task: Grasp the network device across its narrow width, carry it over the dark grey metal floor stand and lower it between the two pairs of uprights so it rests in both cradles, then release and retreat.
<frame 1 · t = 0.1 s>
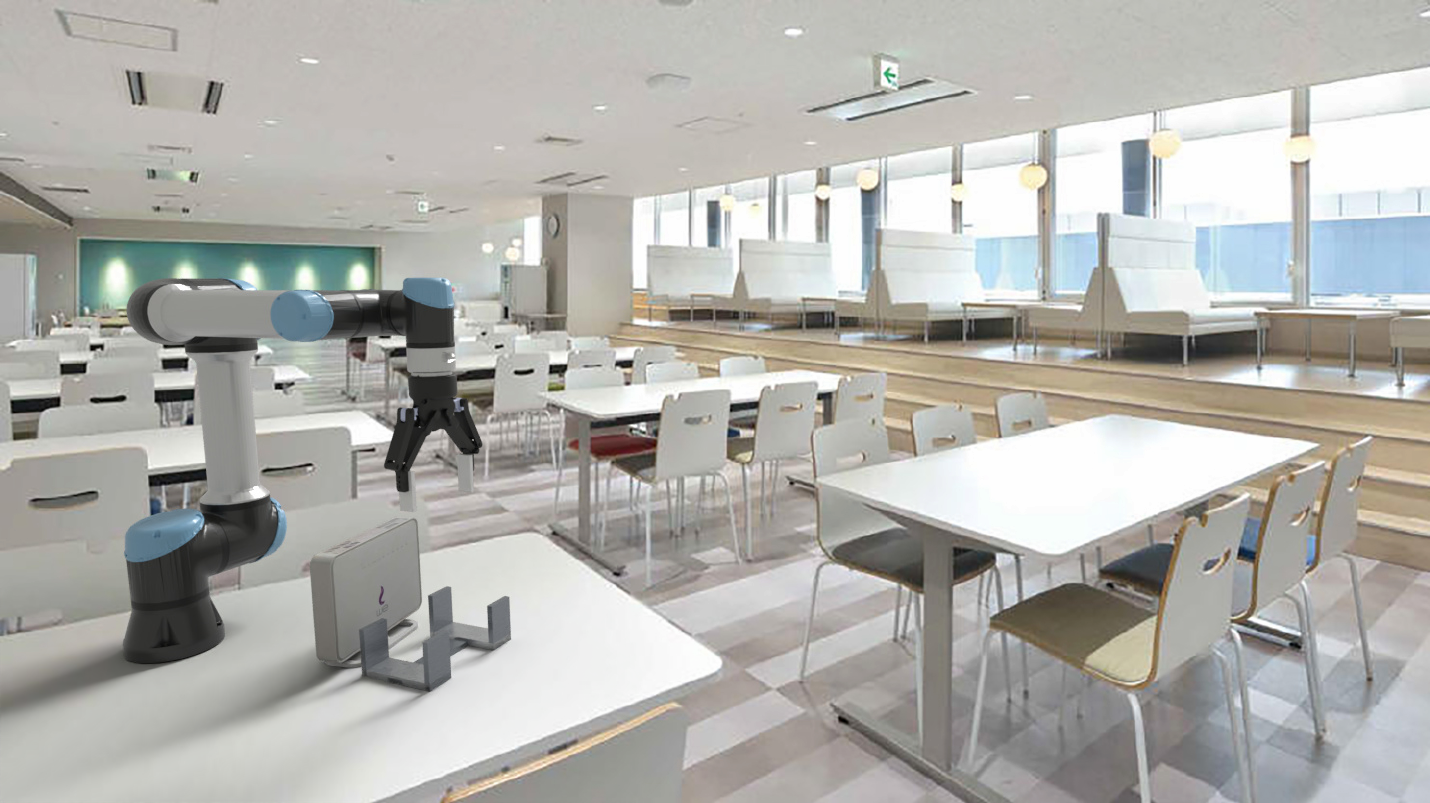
hand: (438, 500, 136), 28 cm above the table, fingers open, 13 cm apart
stand: (440, 656, 142), on the table
network device: (373, 643, 147), on the table
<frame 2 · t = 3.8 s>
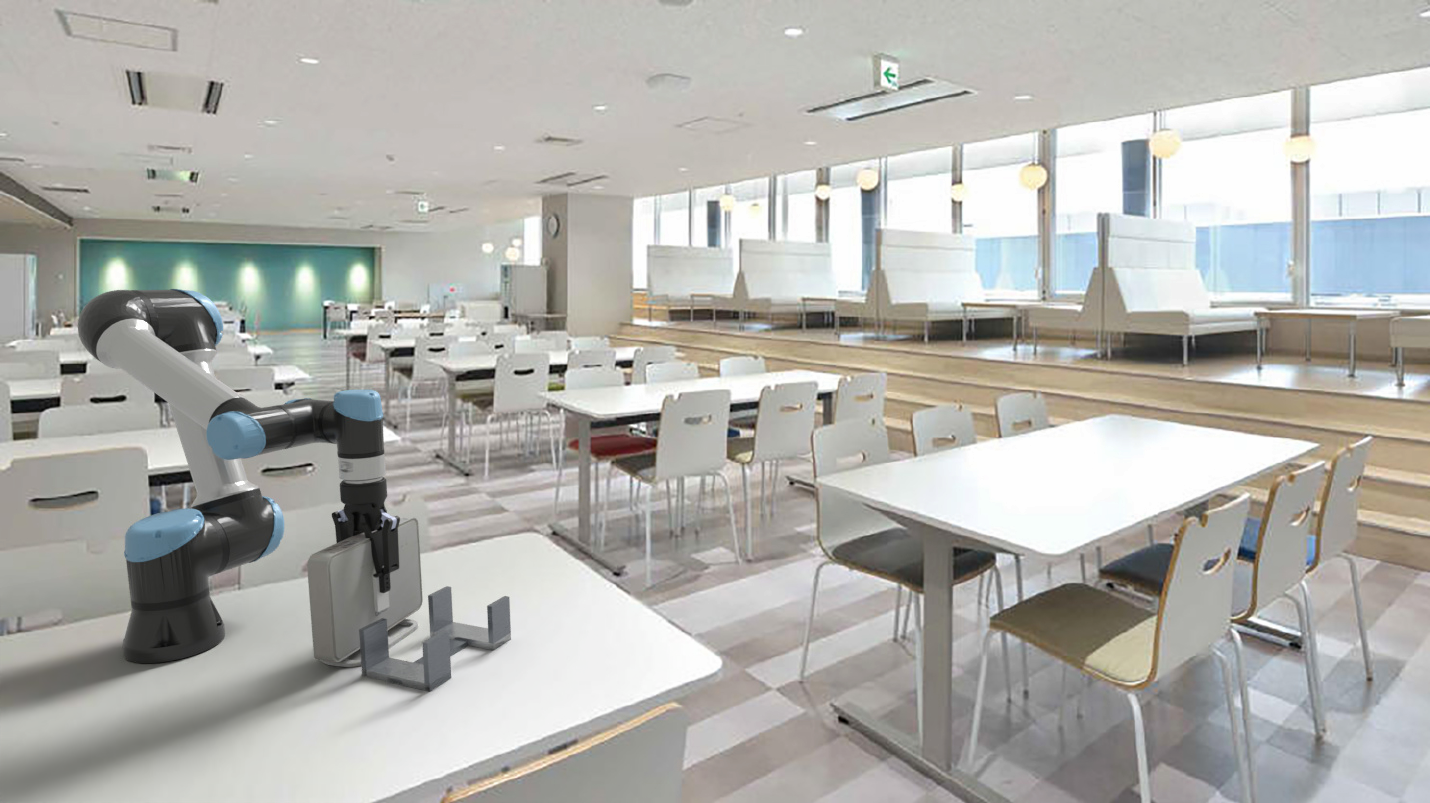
hand: (371, 606, 146), 7 cm above the table, fingers closed on network device, 4 cm apart
network device: (372, 643, 147), on the table, touching gripper
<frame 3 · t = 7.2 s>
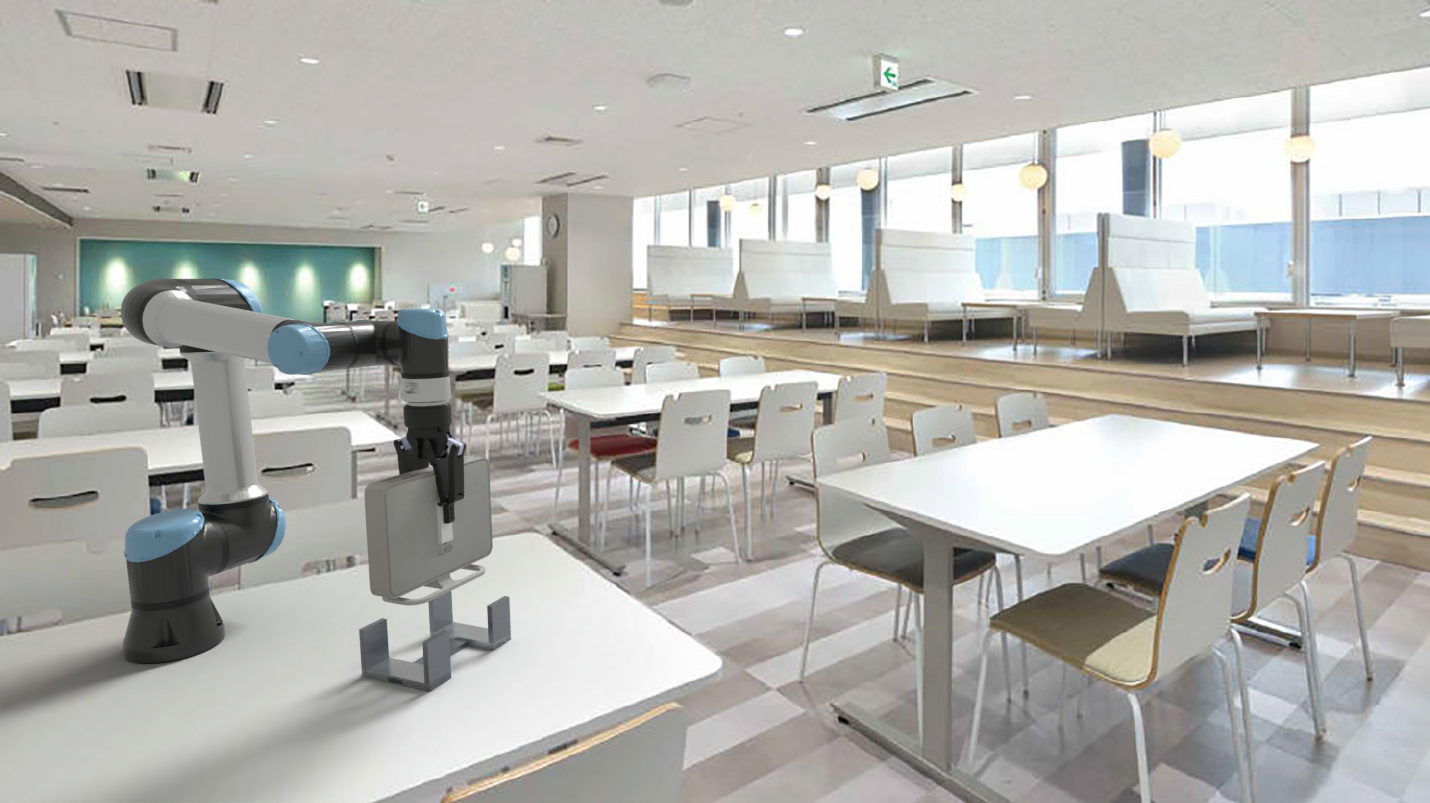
hand: (435, 539, 139), 21 cm above the table, fingers closed on network device, 4 cm apart
network device: (436, 585, 140), point 13 cm above the table, touching gripper
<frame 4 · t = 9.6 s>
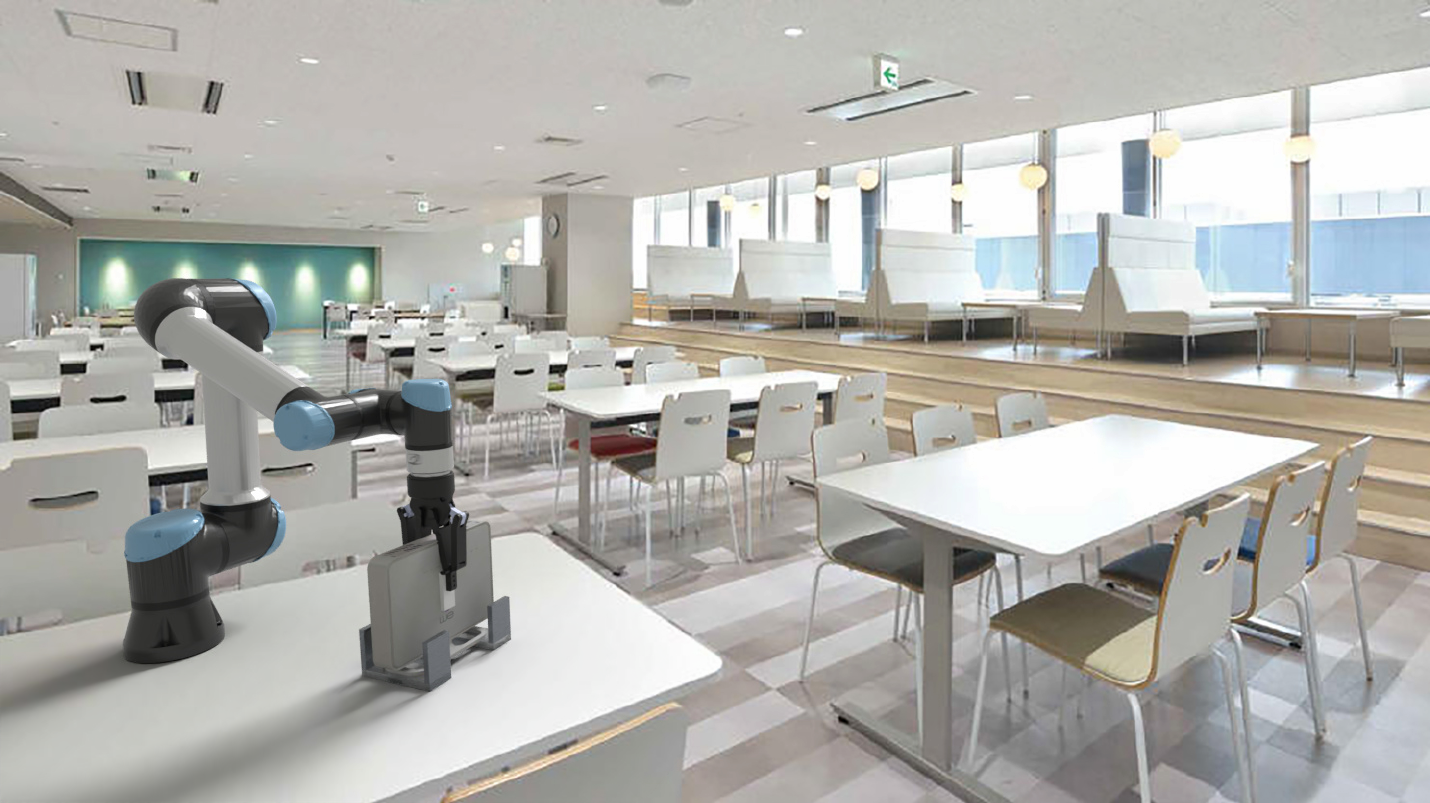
hand: (437, 605, 140), 9 cm above the table, fingers closed on network device, 4 cm apart
network device: (438, 651, 141), point 1 cm above the table, touching gripper, stand
when the fingers open (9 cm above the table, at t = 9.8 s): network device stays where it is, resting on stand.
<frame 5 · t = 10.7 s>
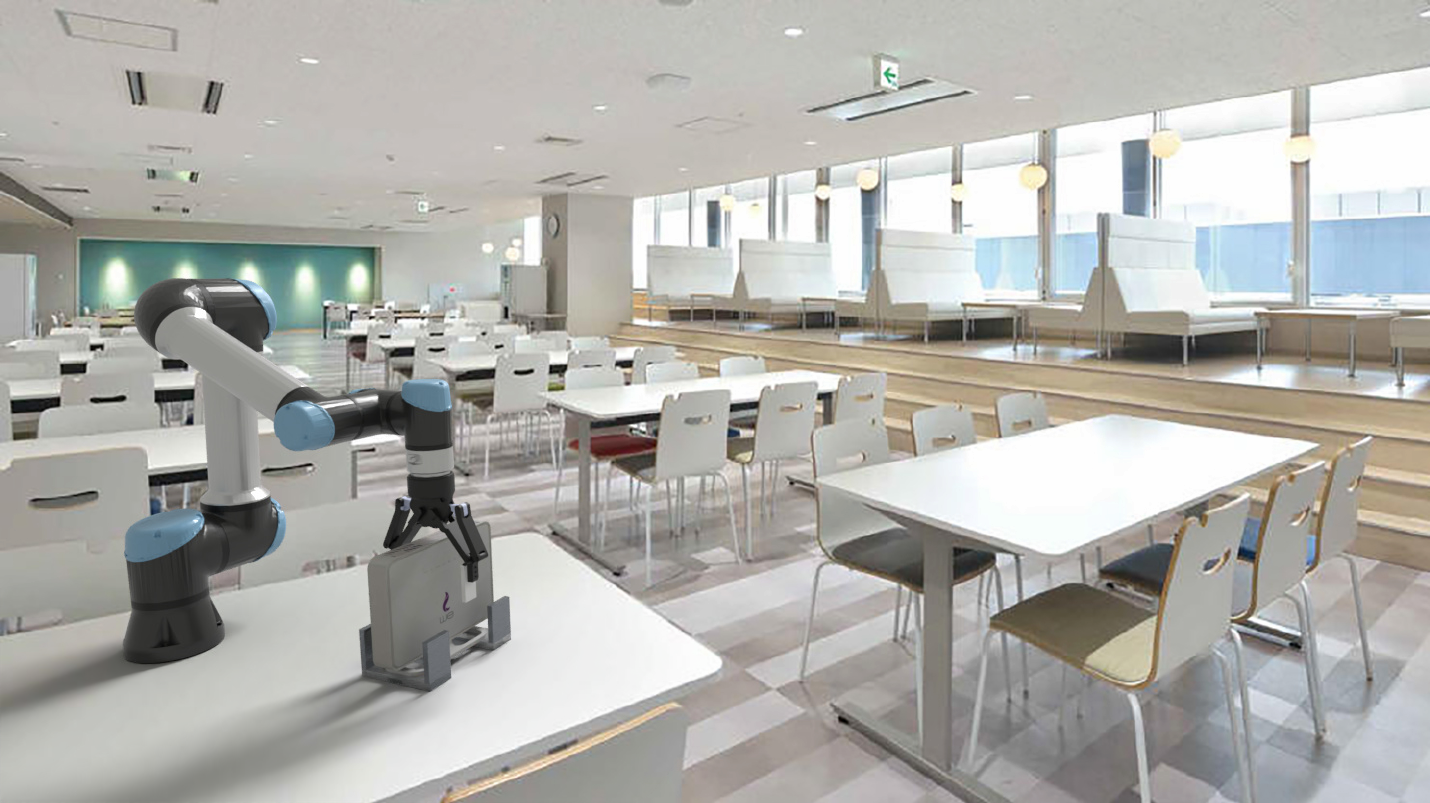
hand: (437, 594, 140), 11 cm above the table, fingers open, 13 cm apart
network device: (438, 651, 141), point 1 cm above the table, touching stand
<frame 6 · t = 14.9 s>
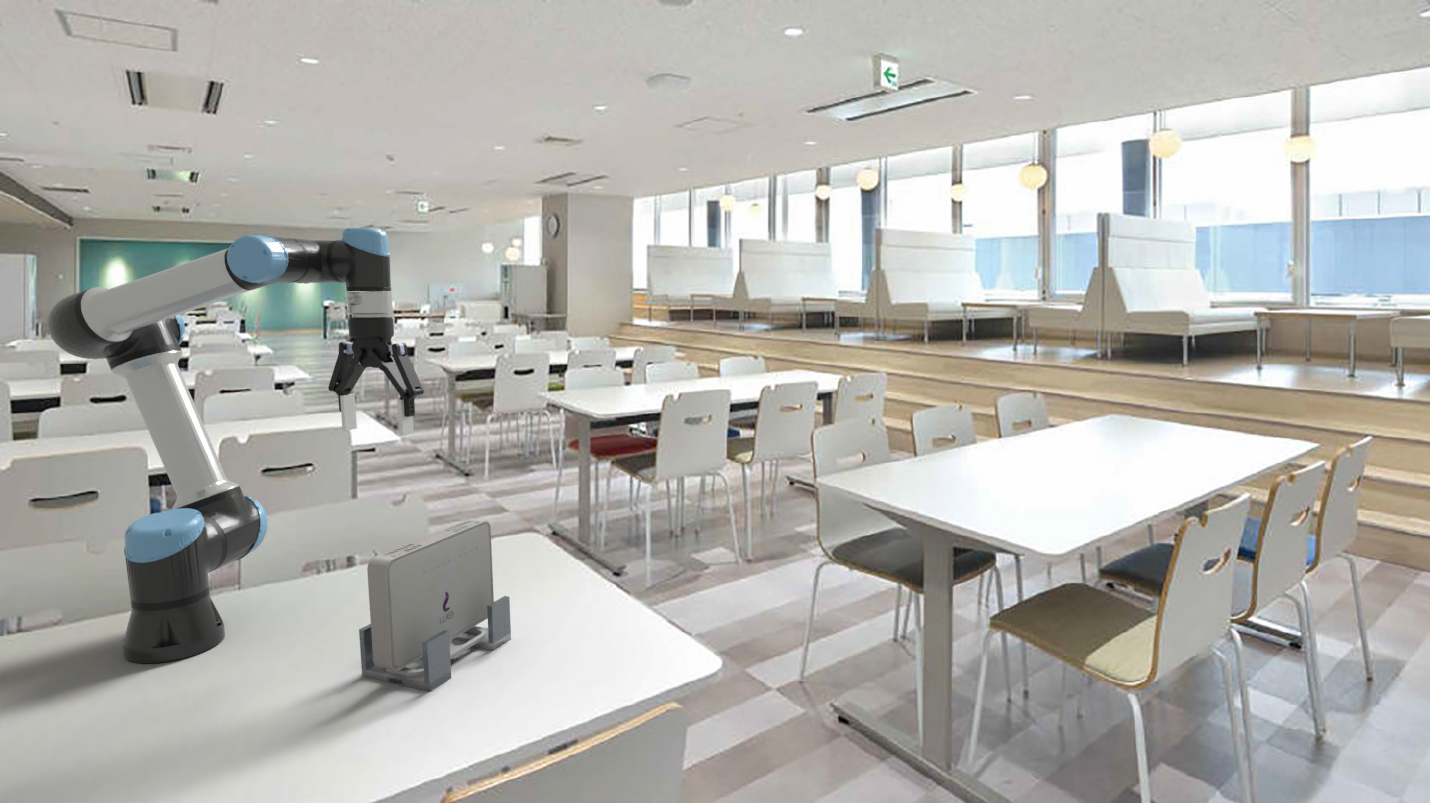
hand: (377, 432, 151), 37 cm above the table, fingers open, 13 cm apart
nothing on the table moved.
at the end: network device inside the target area on the stand (0.3 cm from its centre), point 1.0 cm above the stand's base; network device touching stand; the gripper is holding nothing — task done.
